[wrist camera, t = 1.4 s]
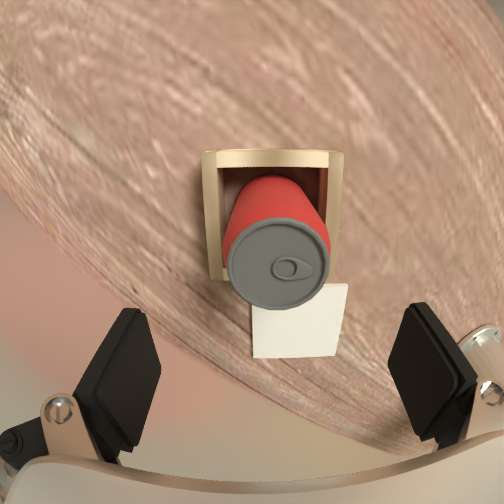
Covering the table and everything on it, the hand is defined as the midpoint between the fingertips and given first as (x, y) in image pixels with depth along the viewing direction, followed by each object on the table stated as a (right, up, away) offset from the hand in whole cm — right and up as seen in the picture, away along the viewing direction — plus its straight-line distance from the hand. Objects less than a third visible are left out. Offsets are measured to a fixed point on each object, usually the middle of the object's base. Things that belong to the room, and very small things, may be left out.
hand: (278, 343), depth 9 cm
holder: (+1, +7, +17) cm, 18 cm away
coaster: (+4, -5, +22) cm, 23 cm away
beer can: (+1, +7, +17) cm, 18 cm away
